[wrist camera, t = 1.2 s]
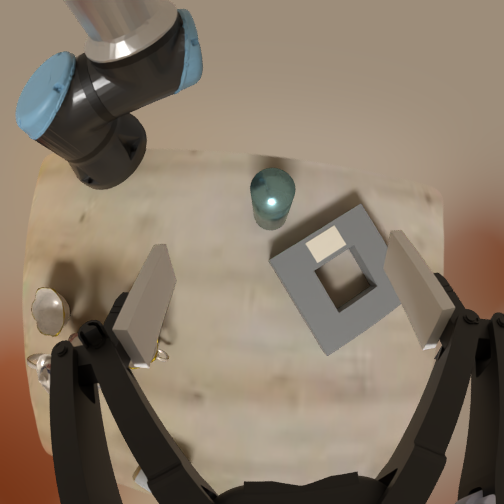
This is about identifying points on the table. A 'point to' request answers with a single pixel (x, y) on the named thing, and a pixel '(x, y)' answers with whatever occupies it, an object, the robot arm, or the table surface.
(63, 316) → the chinaware
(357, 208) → the socket block
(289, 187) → the teal cylinder
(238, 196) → the table surface
